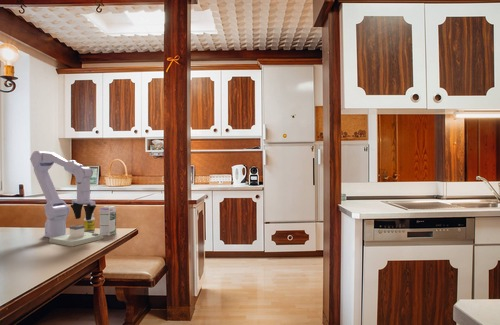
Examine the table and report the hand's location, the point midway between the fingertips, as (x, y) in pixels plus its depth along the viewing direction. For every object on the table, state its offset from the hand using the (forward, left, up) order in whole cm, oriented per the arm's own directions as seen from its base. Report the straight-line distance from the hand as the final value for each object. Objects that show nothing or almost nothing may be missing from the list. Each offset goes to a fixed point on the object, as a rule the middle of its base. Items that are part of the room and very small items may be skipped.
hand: (83, 219), depth 154 cm
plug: (+1, -4, -10) cm, 10 cm away
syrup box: (+3, +12, -10) cm, 16 cm away
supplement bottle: (-10, +11, -10) cm, 18 cm away
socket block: (+1, -4, -9) cm, 10 cm away
